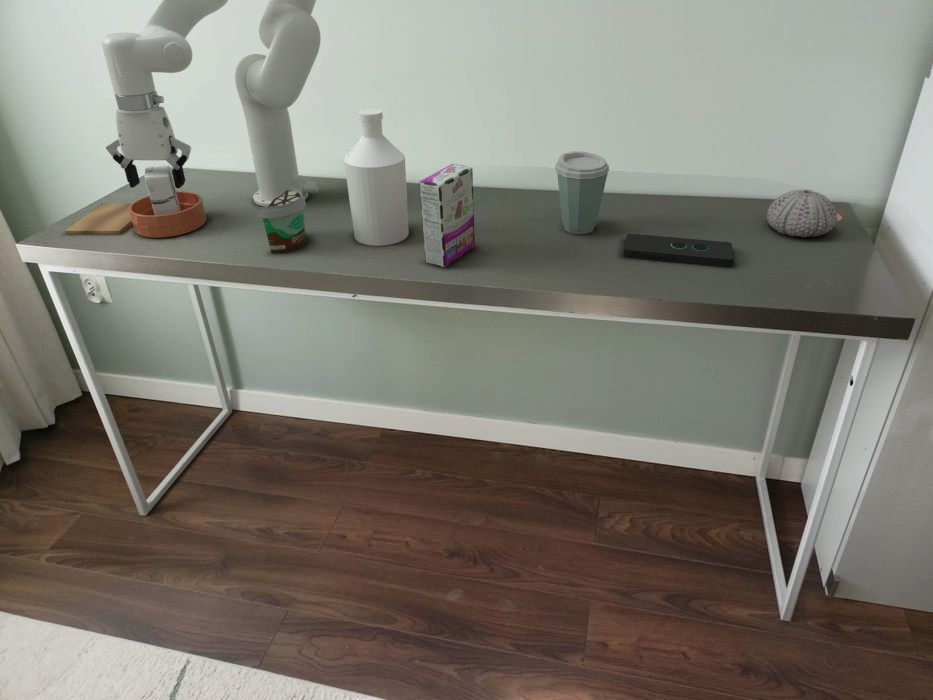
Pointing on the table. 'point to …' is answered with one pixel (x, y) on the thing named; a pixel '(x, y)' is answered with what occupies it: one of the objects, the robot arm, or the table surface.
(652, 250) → the smart home device
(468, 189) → the candy bar box
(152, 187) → the ink box
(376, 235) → the bottle
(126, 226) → the wooden board
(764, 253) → the table surface
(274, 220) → the food container
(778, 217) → the sea urchin shell
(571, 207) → the disposable coffee cup
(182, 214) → the bowl
